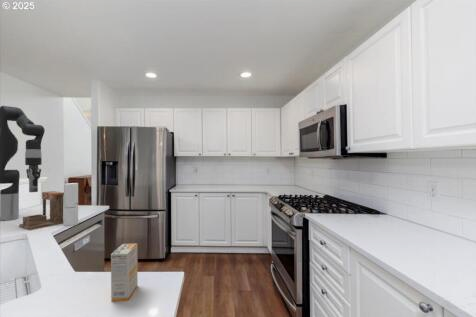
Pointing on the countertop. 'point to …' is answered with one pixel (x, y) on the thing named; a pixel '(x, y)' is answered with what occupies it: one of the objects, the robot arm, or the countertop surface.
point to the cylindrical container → (70, 204)
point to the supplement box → (123, 272)
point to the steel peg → (31, 187)
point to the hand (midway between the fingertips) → (33, 185)
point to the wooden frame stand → (42, 220)
